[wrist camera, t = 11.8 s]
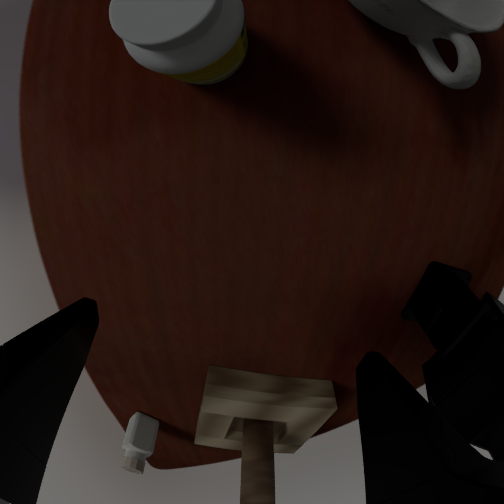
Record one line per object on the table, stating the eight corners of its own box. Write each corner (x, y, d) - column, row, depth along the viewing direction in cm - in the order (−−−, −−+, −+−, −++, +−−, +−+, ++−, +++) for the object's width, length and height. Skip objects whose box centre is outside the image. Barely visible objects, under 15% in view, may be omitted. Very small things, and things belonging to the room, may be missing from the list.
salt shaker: (129, 416, 36) (115, 466, 28) (137, 409, 35) (122, 463, 26) (152, 426, 37) (140, 476, 29) (161, 420, 36) (149, 473, 27)
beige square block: (331, 380, 30) (337, 410, 26) (291, 430, 36) (293, 454, 33) (209, 364, 28) (204, 397, 25) (197, 420, 35) (194, 444, 31)
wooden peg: (273, 414, 29) (276, 509, 18) (274, 427, 31) (276, 513, 20) (240, 415, 29) (236, 510, 19) (244, 428, 31) (241, 514, 20)
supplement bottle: (263, 61, 15) (271, 16, 7) (189, 100, 16) (125, 97, 8) (224, 0, 13) (198, -76, 4) (153, 39, 14) (72, 1, 5)
